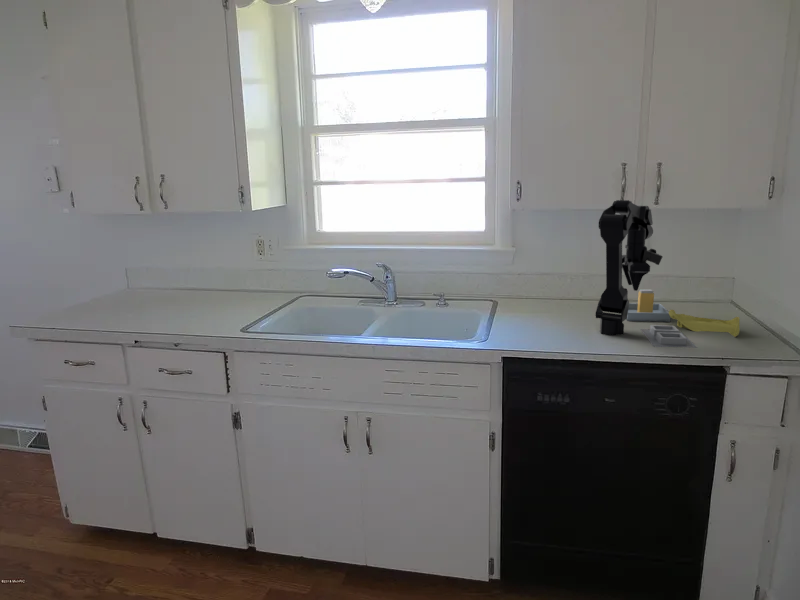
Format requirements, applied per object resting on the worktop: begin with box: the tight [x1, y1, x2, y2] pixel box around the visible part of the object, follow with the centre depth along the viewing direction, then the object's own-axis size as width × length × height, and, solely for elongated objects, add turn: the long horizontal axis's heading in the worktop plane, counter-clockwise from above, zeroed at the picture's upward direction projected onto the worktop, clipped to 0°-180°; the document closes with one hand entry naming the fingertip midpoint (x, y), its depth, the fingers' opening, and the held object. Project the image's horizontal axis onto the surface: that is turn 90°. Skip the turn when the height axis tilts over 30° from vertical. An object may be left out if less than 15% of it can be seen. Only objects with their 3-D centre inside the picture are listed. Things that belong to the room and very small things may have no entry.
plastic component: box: [668, 309, 740, 338], centre depth 184 cm, size 20×7×10 cm
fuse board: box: [639, 324, 698, 349], centre depth 174 cm, size 12×18×4 cm, turn 169°
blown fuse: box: [637, 289, 655, 313], centre depth 202 cm, size 3×4×9 cm, turn 80°
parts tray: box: [625, 302, 671, 323], centre depth 203 cm, size 14×14×3 cm
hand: (632, 287), depth 195 cm, fingers open, 9 cm apart
